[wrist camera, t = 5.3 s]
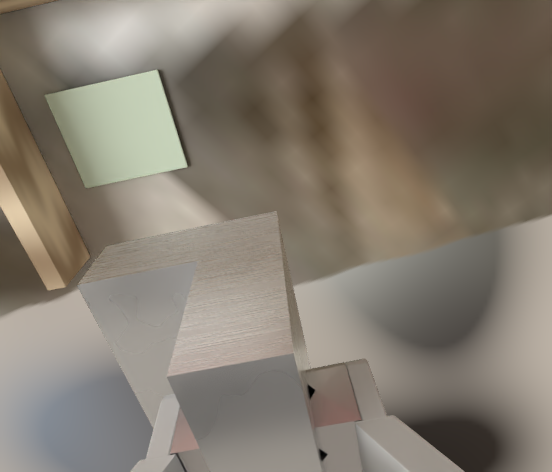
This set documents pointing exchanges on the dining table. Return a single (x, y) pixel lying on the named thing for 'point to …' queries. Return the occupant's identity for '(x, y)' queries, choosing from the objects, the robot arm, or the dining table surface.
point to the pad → (118, 129)
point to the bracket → (213, 339)
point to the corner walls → (35, 192)
